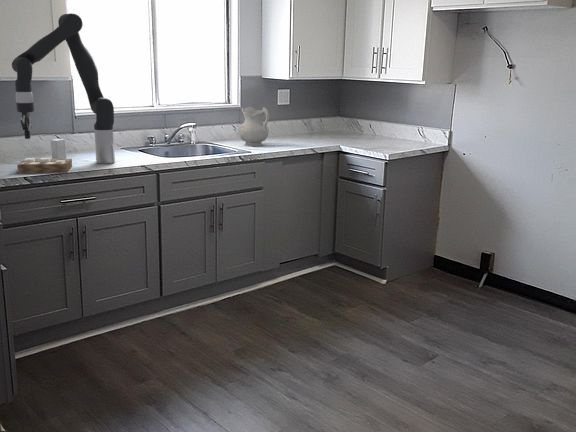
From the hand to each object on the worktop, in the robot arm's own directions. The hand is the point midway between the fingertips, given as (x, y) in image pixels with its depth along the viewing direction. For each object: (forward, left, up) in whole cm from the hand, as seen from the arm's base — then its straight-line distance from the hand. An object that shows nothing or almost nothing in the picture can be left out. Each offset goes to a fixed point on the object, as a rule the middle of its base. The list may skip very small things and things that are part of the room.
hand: (27, 138), depth 290 cm
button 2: (-14, 0, -13) cm, 19 cm away
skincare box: (-10, -20, -15) cm, 27 cm away
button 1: (0, 0, -12) cm, 12 cm away
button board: (-7, 0, -15) cm, 17 cm away
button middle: (-7, 0, -12) cm, 14 cm away
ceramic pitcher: (-120, -78, -15) cm, 144 cm away
